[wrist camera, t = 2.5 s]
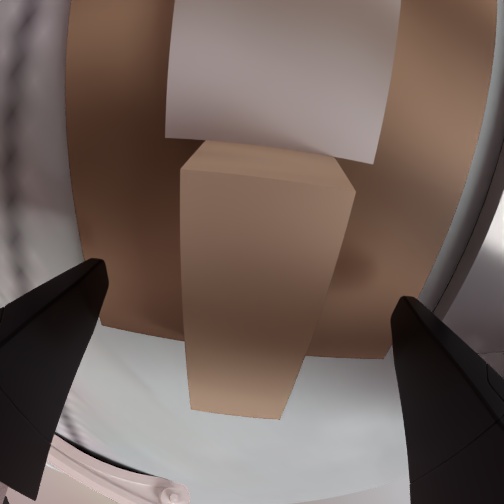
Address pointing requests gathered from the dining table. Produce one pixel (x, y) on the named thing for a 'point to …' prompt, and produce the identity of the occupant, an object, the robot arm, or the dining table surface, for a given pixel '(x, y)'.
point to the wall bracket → (114, 478)
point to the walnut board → (359, 173)
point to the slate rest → (480, 278)
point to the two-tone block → (268, 178)
